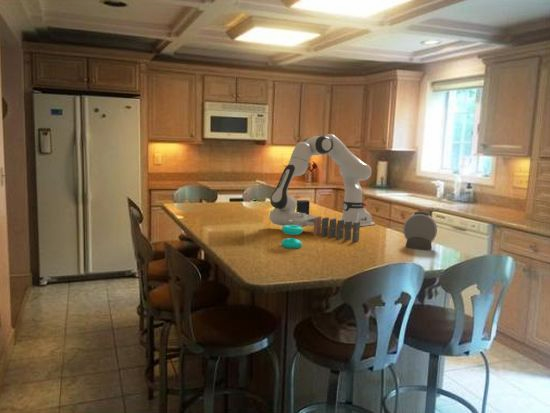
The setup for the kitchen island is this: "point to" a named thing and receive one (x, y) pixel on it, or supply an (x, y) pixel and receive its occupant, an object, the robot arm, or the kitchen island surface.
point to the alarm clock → (420, 231)
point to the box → (302, 206)
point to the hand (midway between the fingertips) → (317, 223)
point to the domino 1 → (317, 226)
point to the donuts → (290, 241)
